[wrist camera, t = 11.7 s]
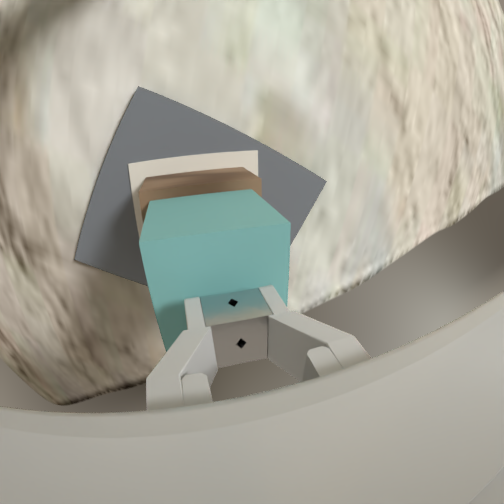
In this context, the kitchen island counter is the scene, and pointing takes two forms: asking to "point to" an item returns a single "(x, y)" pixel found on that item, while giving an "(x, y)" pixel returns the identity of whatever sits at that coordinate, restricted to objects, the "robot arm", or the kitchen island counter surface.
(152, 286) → the teal cube
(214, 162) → the slate mat
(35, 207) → the kitchen island counter surface
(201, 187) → the walnut block
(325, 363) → the robot arm
